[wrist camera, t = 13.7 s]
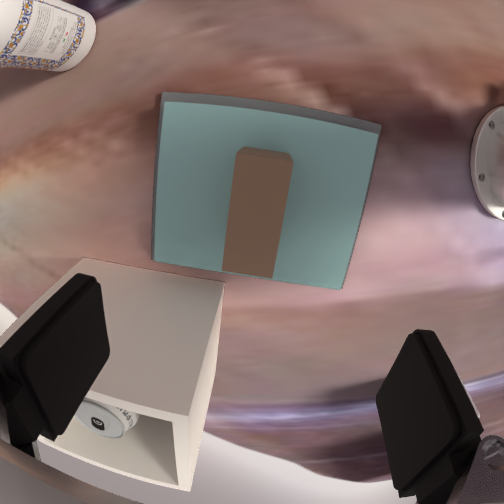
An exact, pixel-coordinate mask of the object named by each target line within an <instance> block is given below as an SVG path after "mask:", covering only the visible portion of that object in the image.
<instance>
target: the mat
mask: <svg viewBox="0 0 504 504" xmlns="http://www.w3.org/2000/svg"><path fill="white" fill-rule="evenodd" d="M165 102H183V103H197V104H210V105H220V106H230V107H239V108H247V109H254V110H262V111H268V112H275V113H281V114H287V115H293V116H299V117H304V118H309V119H315V120H320V121H324V122H329V123H334V124H338V125H343V126H347V127H351V128H356V129H360V130H364V131H368V132H371V133H375V134H378V139H377V144H376V149H375V154H374V159H373V164H372V169H371V173H370V178H369V183H368V187H367V192H366V196H365V200H364V204H363V208H362V213H361V217H360V221H359V225H358V228H357V232H356V236H355V240H354V244H353V247H352V251H351V255H350V258H349V262H348V265H347V269H346V272H345V276H344V279H343V282H342V286H341V289H342V288H343V285H344V281H345V278H346V274H347V271H348V268H349V264H350V261H351V257H352V253H353V250H354V246H355V242H356V239H357V235H358V231H359V227H360V223H361V219H362V215H363V211H364V207H365V203H366V199H367V194H368V190H369V186H370V181H371V176H372V172H373V167H374V162H375V157H376V152H377V147H378V142H379V137H380V131H381V125H380V124H377V123H373V122H369V121H365V120H361V119H357V118H353V117H349V116H345V115H340V114H336V113H331V112H327V111H322V110H317V109H312V108H307V107H301V106H296V105H290V104H284V103H277V102H271V101H264V100H257V99H249V98H241V97H231V96H221V95H210V94H197V93H179V92H162V97H161V106H160V114H159V124H158V134H157V144H156V156H155V170H154V186H153V207H152V244H151V260H154V249H155V214H156V193H157V177H158V163H159V151H160V140H161V130H162V120H163V111H164V103H165Z"/></svg>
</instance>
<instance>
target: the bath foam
mask: <svg viewBox="0 0 504 504" xmlns="http://www.w3.org/2000/svg"><path fill="white" fill-rule="evenodd" d="M95 35H96V25H95V21H94V19H93V17H92V16H91V15H90V14H89V13H88V12H86V11H84V10H82V9H80V8H77V7H75V6H74V5H72V4H69V3H67V2H64V1H62V0H0V67H3V68H22V69H36V70H48V71H66V70H69V69H71V68H73V67H75V66H76V65H77V64H79V63H80V62H81V61H82V60H83V59H84V57H85V56H86V55H87V54H88V52H89V51H90V49H91V47H92V45H93V42H94V39H95Z"/></svg>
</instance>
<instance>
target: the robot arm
mask: <svg viewBox="0 0 504 504" xmlns="http://www.w3.org/2000/svg"><path fill="white" fill-rule="evenodd" d="M470 166H471V177H472V182H473V186H474V189H475V192H476V195H477V197H478V199H479V201H480V203H481V204H482V206H483V207H484V208H485V209H486V210H487V211H488V212H489V213H490V214H491V215H493V216H494V217H496V218H498V219H500V220H503V221H504V106H499V107H496V108H494V109H492V110H491V111H490V112H488V113H487V114H486V115H485V117H484V118H483V119H482V120H481V122H480V124H479V126H478V128H477V129H476V133H475V135H474V138H473V143H472V148H471V159H470ZM109 355H110V345H109V339H108V333H107V327H106V321H105V314H104V306H103V298H102V290H101V285H100V283H99V282H97V280H96V278H95V277H94V276H90V275H86V274H82V273H77V274H75V275H74V276H73V277H72V278H71V279H70V280H69V281H67V282H66V283H65V284H64V285H63V286H62V287H61V288H60V289H59V290H58V291H57V292H56V293H54V294H53V295H52V296H51V297H50V298H49V299H48V300H47V301H46V302H45V303H44V304H43V305H42V306H41V307H40V308H39V309H38V310H37V311H36V312H35V313H34V314H33V315H32V316H31V317H30V318H29V319H28V320H27V321H26V322H25V323H24V324H23V325H22V326H21V327H20V328H19V329H18V330H17V331H16V332H15V333H14V334H13V335H12V336H11V337H10V338H9V339H8V340H7V341H6V342H5V343H4V344H3V345H2V347H1V348H0V504H143V503H139V502H137V501H133V500H130V499H127V498H124V497H121V496H118V495H115V494H113V493H110V492H108V491H105V490H102V489H100V488H97V487H95V486H92V485H90V484H87V483H85V482H83V481H80V480H78V479H76V478H74V477H72V476H69V475H67V474H65V473H63V472H61V471H59V470H57V469H55V468H53V467H51V466H49V465H46V464H45V463H43V462H41V458H40V454H39V450H38V446H37V441H36V440H37V438H38V437H39V435H41V436H43V437H45V438H47V439H49V440H51V441H53V442H55V440H56V438H57V436H58V435H62V434H63V433H64V432H65V430H66V429H67V427H68V425H69V423H70V422H71V420H72V418H73V416H74V415H75V413H76V411H77V410H78V408H79V406H80V405H81V403H82V401H83V399H84V398H85V396H86V394H87V393H88V391H89V389H90V388H91V386H92V385H93V383H94V381H95V380H96V378H97V376H98V375H99V373H100V372H101V370H102V368H103V367H104V365H105V363H106V362H107V360H108V358H109ZM376 405H377V409H378V413H379V417H380V422H381V426H382V431H383V435H384V440H385V445H386V450H387V454H388V459H389V465H390V470H391V475H392V481H393V486H394V488H395V489H396V490H398V493H399V498H402V497H409V496H415V495H416V497H417V502H416V504H504V439H503V438H502V437H500V436H497V435H489V436H485V437H484V438H483V439H482V440H481V438H480V436H479V435H480V434H481V433H482V432H483V431H484V429H483V427H482V425H481V423H480V420H479V418H478V416H477V414H476V412H475V409H474V407H473V405H472V403H471V401H470V399H469V397H468V395H467V393H466V390H465V388H464V386H463V384H462V382H461V380H460V378H459V377H458V375H457V373H456V371H455V369H454V367H453V365H452V363H451V361H450V359H449V357H448V356H447V354H446V352H445V350H444V348H443V346H442V345H441V343H440V341H439V339H438V338H437V336H436V334H435V333H434V331H431V330H420V329H417V330H415V331H414V332H413V333H411V334H409V335H408V337H407V338H406V340H405V343H404V345H403V347H402V349H401V351H400V353H399V354H398V356H397V358H396V360H395V362H394V364H393V366H392V368H391V370H390V372H389V373H388V375H387V377H386V379H385V381H384V382H383V384H382V386H381V388H380V389H379V391H378V393H377V396H376Z"/></svg>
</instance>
